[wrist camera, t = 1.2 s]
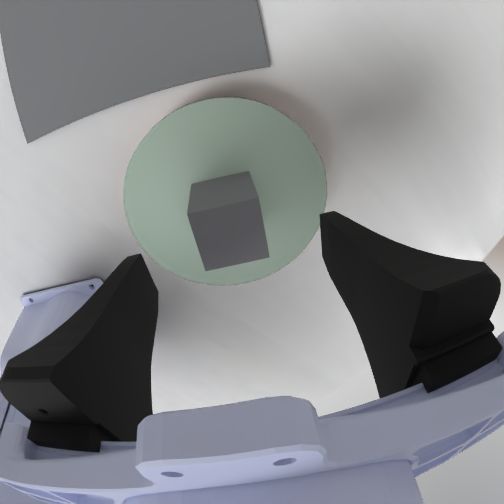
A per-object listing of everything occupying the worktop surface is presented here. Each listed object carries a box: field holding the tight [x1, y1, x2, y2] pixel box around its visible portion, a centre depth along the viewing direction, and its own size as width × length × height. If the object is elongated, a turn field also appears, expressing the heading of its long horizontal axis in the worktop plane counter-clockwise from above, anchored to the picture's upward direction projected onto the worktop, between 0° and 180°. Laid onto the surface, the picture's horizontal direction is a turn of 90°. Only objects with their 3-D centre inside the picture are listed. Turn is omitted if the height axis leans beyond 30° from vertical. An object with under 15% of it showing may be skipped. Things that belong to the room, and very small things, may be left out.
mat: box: [0, 0, 270, 144], centre depth 12 cm, size 16×13×1 cm
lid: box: [124, 97, 327, 285], centre depth 15 cm, size 11×11×4 cm
